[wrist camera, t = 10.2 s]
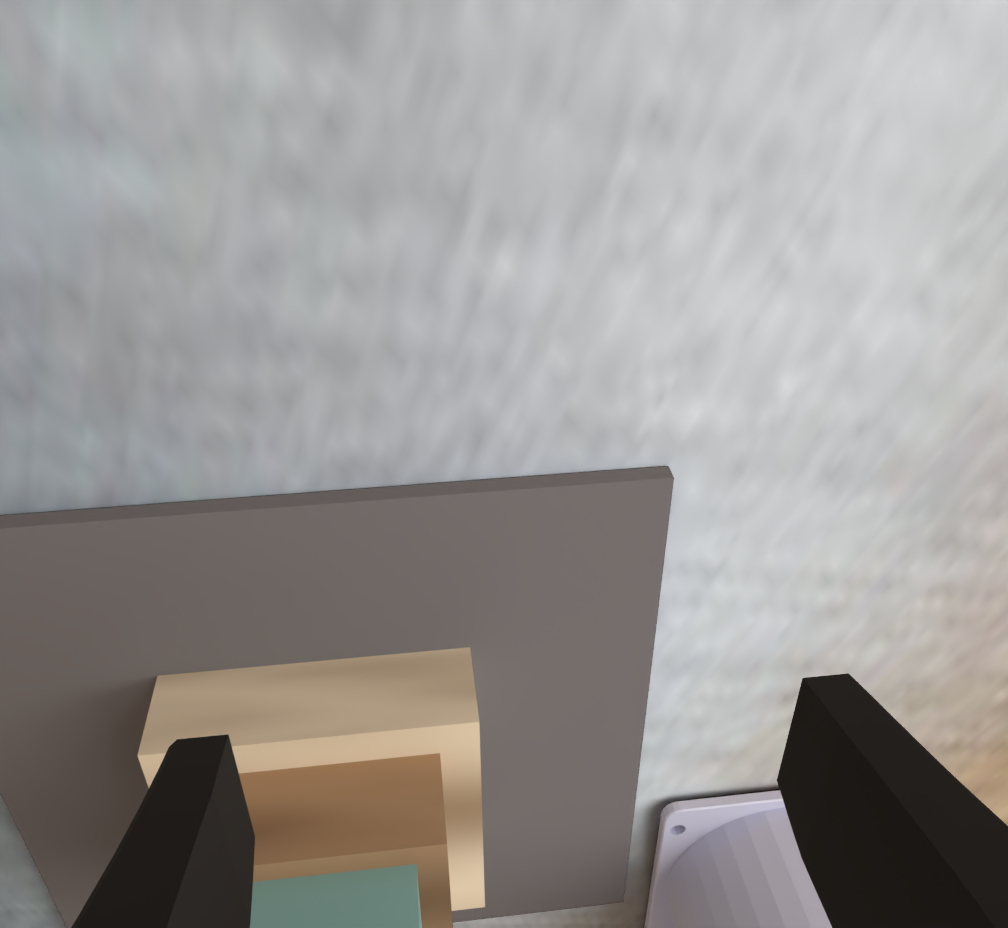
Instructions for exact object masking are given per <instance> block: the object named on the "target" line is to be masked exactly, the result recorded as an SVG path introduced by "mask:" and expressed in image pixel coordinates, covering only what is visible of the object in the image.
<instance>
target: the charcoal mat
mask: <svg viewBox="0 0 1008 928" xmlns="http://www.w3.org/2000/svg"><path fill="white" fill-rule="evenodd" d="M673 481H674V477H673V475H672V473H671V471H670V469H669V467H668V466H662V467H649V468H635V469H622V470H608V471H595V472H581V473H568V474H554V475H541V476H527V477H514V478H500V479H487V480H473V481H460V482H446V483H433V484H419V485H406V486H392V487H379V488H365V489H352V490H338V491H325V492H311V493H298V494H284V495H271V496H257V497H243V498H230V499H216V500H203V501H189V502H176V503H162V504H149V505H135V506H122V507H108V508H95V509H81V510H68V511H54V512H41V513H27V514H14V515H0V793H1V795H2V797H3V799H4V801H5V803H6V805H7V807H8V809H9V812H10V814H11V816H12V818H13V820H14V822H15V824H16V826H17V828H18V830H19V832H20V834H21V836H22V838H23V840H24V842H25V844H26V846H27V848H28V850H29V852H30V854H31V856H32V858H33V860H34V862H35V864H36V866H37V868H38V870H39V872H40V874H41V876H42V878H43V880H44V882H45V884H46V886H47V888H48V890H49V892H50V894H51V896H52V898H53V900H54V902H55V904H56V906H57V908H58V910H59V912H60V914H61V916H62V918H63V920H64V922H65V925H66V927H67V928H71V927H72V925H73V924H74V922H75V920H76V919H77V917H78V916H79V914H80V912H81V910H82V909H83V907H84V905H85V904H86V902H87V900H88V898H89V897H90V895H91V893H92V891H93V890H94V888H95V886H96V885H97V883H98V881H99V879H100V878H101V876H102V874H103V873H104V871H105V869H106V867H107V866H108V864H109V862H110V860H111V859H112V857H113V855H114V853H115V852H116V850H117V848H118V846H119V844H120V843H121V841H122V839H123V837H124V835H125V833H126V831H127V830H128V828H129V826H130V824H131V822H132V820H133V819H134V817H135V815H136V813H137V811H138V809H139V807H140V805H141V803H142V801H143V799H144V797H145V795H146V793H147V791H148V789H149V787H148V785H147V782H146V779H145V776H144V773H143V770H142V767H141V765H140V762H139V759H138V756H137V755H138V751H139V747H140V743H141V739H142V735H143V731H144V728H145V724H146V720H147V716H148V712H149V708H150V704H151V700H152V696H153V692H154V688H155V684H156V680H157V676H160V675H171V674H182V673H193V672H204V671H215V670H226V669H237V668H248V667H259V666H270V665H281V664H292V663H303V662H314V661H325V660H336V659H347V658H358V657H369V656H379V655H390V654H401V653H412V652H423V651H434V650H445V649H456V648H467V647H470V650H471V658H472V666H473V674H474V682H475V690H476V698H477V706H478V714H479V724H480V757H481V790H482V823H483V856H484V889H485V907H481V908H473V909H465V910H456V911H452V923H453V922H461V921H469V920H478V919H486V918H494V917H503V916H511V915H520V914H528V913H536V912H545V911H553V910H561V909H570V908H578V907H586V906H595V905H603V904H611V903H620V902H623V901H624V892H625V884H626V875H627V867H628V859H629V850H630V842H631V833H632V825H633V817H634V808H635V800H636V791H637V783H638V775H639V766H640V758H641V749H642V741H643V733H644V724H645V716H646V708H647V699H648V691H649V682H650V674H651V666H652V657H653V649H654V640H655V632H656V624H657V615H658V607H659V598H660V590H661V582H662V573H663V565H664V556H665V548H666V540H667V531H668V523H669V514H670V506H671V498H672V489H673Z"/></svg>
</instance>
